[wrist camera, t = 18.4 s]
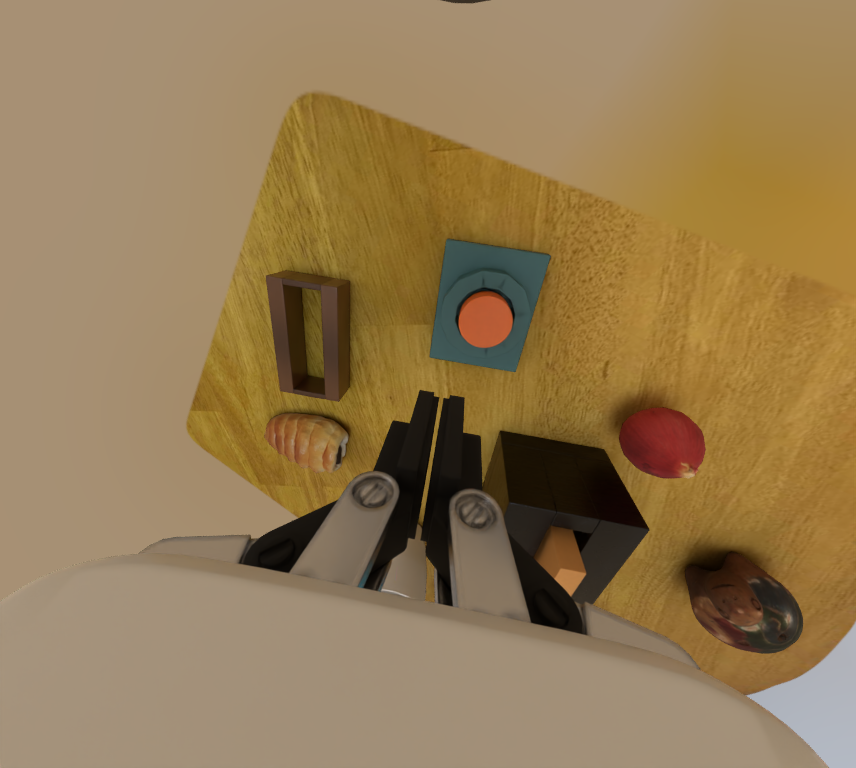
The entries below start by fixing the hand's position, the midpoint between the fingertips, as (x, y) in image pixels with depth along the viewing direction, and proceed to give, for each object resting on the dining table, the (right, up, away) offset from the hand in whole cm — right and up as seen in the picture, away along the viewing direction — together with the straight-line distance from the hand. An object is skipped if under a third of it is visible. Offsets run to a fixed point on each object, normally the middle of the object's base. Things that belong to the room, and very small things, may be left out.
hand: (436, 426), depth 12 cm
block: (+5, +8, +15) cm, 18 cm away
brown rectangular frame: (-11, +6, +18) cm, 22 cm away
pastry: (-13, -4, +25) cm, 29 cm away
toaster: (+12, -11, +24) cm, 29 cm away
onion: (+20, -2, +18) cm, 27 cm away
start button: (+4, +7, +13) cm, 15 cm away
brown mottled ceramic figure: (+36, -22, +27) cm, 51 cm away
